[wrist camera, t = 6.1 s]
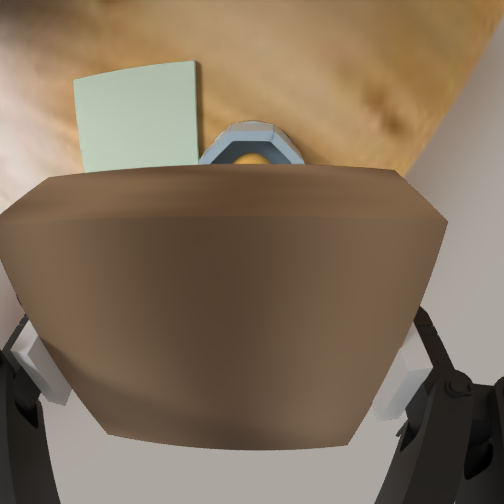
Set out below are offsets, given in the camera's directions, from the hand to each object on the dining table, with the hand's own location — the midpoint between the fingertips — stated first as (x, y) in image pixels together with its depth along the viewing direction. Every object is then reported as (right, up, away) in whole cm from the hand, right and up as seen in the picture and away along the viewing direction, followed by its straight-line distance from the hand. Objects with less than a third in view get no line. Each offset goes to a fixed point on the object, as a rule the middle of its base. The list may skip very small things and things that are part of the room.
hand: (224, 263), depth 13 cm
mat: (-9, +11, +12) cm, 18 cm away
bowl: (+1, +8, +13) cm, 15 cm away
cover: (0, -2, -2) cm, 3 cm away
